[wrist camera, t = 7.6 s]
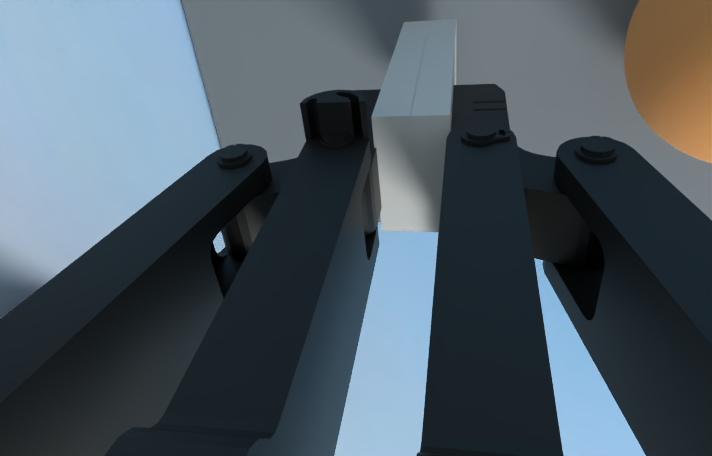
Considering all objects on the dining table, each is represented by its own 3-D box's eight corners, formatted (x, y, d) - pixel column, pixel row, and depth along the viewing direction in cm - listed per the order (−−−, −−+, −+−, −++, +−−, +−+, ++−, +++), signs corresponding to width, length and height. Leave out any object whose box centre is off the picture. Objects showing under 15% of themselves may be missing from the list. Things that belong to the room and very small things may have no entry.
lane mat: (242, 217, 23) (241, 220, 22) (139, -168, 15) (136, -167, 15) (925, 225, 18) (930, 229, 18) (1262, -324, 10) (1275, -327, 10)
